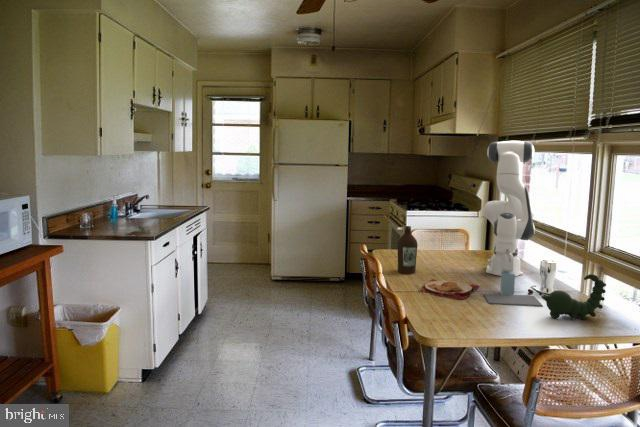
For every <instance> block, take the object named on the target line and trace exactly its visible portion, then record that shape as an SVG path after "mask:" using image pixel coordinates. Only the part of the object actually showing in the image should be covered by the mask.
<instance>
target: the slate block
mask: <svg viewBox="0 0 640 427" xmlns="http://www.w3.org/2000/svg"><path fill="white" fill-rule="evenodd" d="M515 282H516V276H515V274H514V273H513V272H507V271H501V276H500V289H499V292H500V293H499V294H509V295H515V284H516V283H515Z"/></svg>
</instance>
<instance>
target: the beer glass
mask: <svg viewBox="0 0 640 427" xmlns="http://www.w3.org/2000/svg"><path fill="white" fill-rule="evenodd" d="M556 274H557V261H556V260H554V259H541V260H540V265H539V279H540V287H539V291H540V292H539V293H541V292H543V293H542V294H544V293H546V294H545V295H549V294H550V293H551V292H553V291H554V282H555V279H556Z"/></svg>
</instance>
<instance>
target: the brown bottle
mask: <svg viewBox="0 0 640 427" xmlns="http://www.w3.org/2000/svg"><path fill="white" fill-rule="evenodd" d="M397 240H398V241H397V245H396V246H397V248H396V249H397V272H398V273H399V274H403V275H413V273H414V274H415V273H416V270H417V268H416V267H417V258H418V257H417V256H418V254H417V253H418V241H417V239H416V237H415V236H414V235H413V234H412V226H410V225H405V226H404V233H403V234H402V235H401V237H399V238H398V239H397Z"/></svg>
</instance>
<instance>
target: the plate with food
mask: <svg viewBox="0 0 640 427" xmlns="http://www.w3.org/2000/svg"><path fill="white" fill-rule="evenodd" d="M479 286H480V285H479V284H474V283H473V284H469V283H465V282H462V281H455V280H448V279H447V280H437V279H430V281H429V282H426V283H424V284H423V285H422V286H421V288H419V287H418V289H419V290H418V293H420V292H421V294H423V293H425V294H427V293H428V294H430V295H431V296H432V294H433V296H435V297H439V298H440V297H442V298H443V297H444V295H446V297H447V298H449V299H453V300H455V299H458V300H459V299H461V300H465V299H467V298H469V296H470V295H471V294H472V293H474V292H475V291H476V289H478V288H479ZM423 288H424V289H423Z"/></svg>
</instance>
